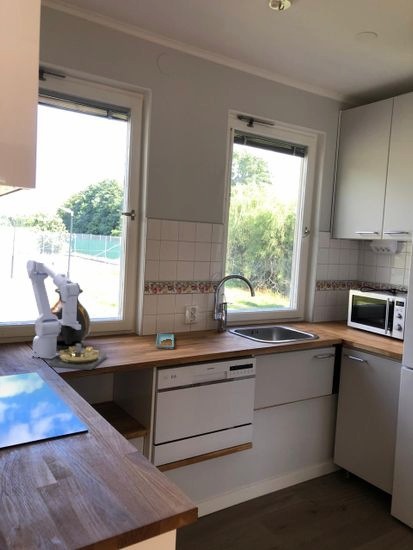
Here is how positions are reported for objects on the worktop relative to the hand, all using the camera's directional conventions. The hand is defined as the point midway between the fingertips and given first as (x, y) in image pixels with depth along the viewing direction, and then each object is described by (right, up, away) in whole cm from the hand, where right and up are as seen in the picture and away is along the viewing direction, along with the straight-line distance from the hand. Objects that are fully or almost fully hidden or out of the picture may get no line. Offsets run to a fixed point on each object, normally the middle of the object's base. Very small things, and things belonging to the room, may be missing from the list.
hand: (68, 343), depth 187 cm
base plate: (+3, -8, +5) cm, 10 cm away
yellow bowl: (+3, -7, +5) cm, 9 cm away
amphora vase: (-10, -6, +29) cm, 31 cm away
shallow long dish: (+36, -8, +48) cm, 61 cm away
